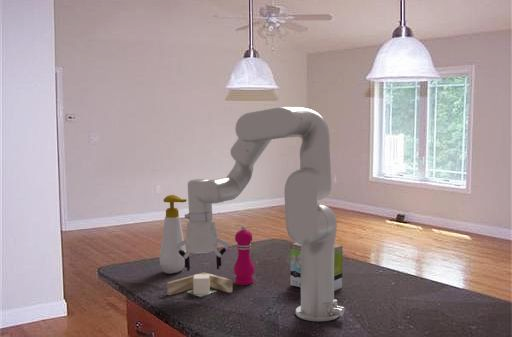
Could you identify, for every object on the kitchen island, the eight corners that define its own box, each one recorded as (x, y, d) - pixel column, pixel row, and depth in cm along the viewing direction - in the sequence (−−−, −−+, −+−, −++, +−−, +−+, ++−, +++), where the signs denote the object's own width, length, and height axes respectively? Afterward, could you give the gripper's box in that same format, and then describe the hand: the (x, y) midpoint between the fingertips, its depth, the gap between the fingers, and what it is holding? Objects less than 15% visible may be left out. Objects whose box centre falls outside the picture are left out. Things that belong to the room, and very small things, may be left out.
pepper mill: (252, 286, 183) (251, 227, 182) (231, 285, 185) (230, 227, 183) (256, 280, 190) (255, 224, 189) (236, 279, 192) (235, 223, 190)
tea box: (289, 286, 183) (289, 243, 182) (307, 279, 190) (307, 238, 189) (325, 295, 173) (325, 249, 171) (343, 288, 180) (343, 244, 179)
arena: (232, 291, 177) (232, 279, 177) (195, 303, 166) (195, 291, 165) (204, 283, 187) (203, 272, 186) (167, 294, 175) (166, 282, 175)
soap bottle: (177, 278, 194) (175, 197, 192) (154, 274, 199) (151, 196, 196) (196, 269, 205) (195, 193, 203) (174, 266, 210) (172, 192, 208)
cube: (209, 293, 175) (208, 278, 174) (193, 293, 175) (193, 278, 174) (209, 288, 180) (209, 274, 179) (194, 289, 180) (194, 274, 179)
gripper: (172, 220, 171) (175, 273, 172) (227, 217, 172) (229, 270, 173) (175, 216, 178) (178, 267, 179) (227, 214, 179) (230, 265, 180)
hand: (203, 269), depth 176 cm, fingers open, 9 cm apart
